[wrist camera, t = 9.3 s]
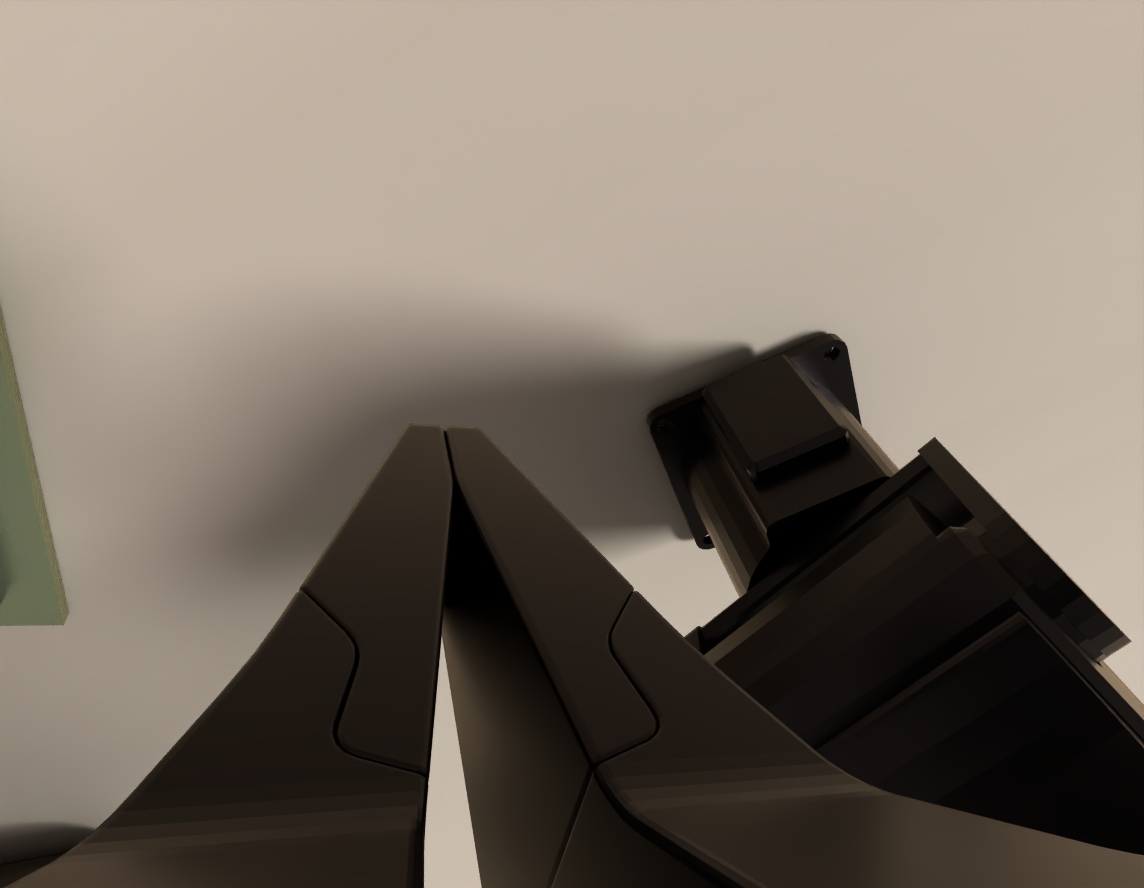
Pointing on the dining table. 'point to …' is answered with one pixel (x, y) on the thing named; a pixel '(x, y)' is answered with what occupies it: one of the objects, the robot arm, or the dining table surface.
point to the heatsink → (23, 518)
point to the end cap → (22, 869)
